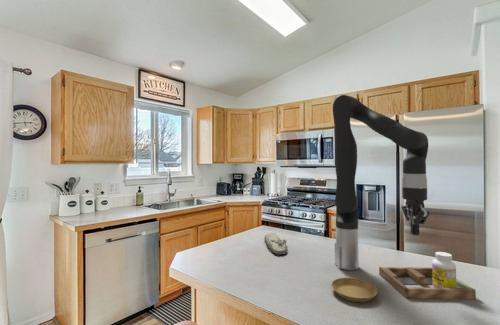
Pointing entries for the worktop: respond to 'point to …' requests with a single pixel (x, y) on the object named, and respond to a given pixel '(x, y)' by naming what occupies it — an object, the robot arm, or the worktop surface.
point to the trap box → (423, 277)
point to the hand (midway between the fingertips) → (414, 234)
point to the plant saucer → (354, 289)
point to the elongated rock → (276, 244)
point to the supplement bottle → (443, 271)
